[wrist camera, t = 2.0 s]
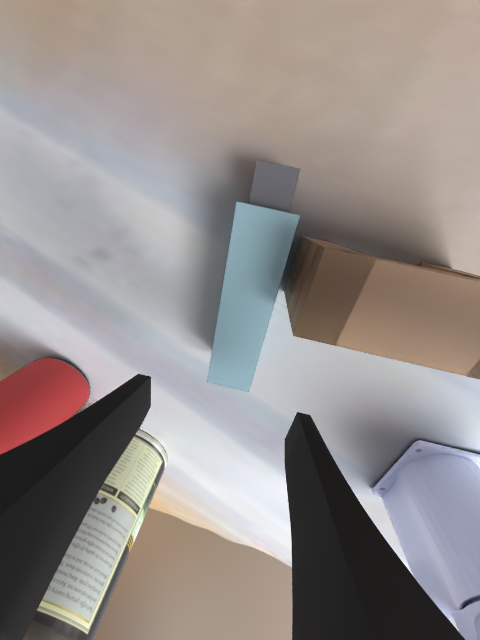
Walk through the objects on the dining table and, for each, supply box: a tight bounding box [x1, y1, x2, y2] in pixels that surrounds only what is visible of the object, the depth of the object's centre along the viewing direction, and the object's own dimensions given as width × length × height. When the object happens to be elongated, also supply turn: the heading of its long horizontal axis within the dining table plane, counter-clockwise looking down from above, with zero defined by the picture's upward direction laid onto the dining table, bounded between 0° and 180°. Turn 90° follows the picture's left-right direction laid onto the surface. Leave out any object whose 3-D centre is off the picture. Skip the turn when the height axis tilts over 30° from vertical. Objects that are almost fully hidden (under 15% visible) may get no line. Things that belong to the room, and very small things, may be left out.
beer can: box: [0, 358, 90, 454], centre depth 18 cm, size 7×7×12 cm
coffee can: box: [23, 430, 167, 640], centre depth 21 cm, size 10×10×14 cm
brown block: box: [284, 236, 480, 379], centre depth 12 cm, size 4×10×7 cm, turn 79°
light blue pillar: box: [207, 160, 300, 392], centre depth 14 cm, size 14×3×4 cm, turn 169°
